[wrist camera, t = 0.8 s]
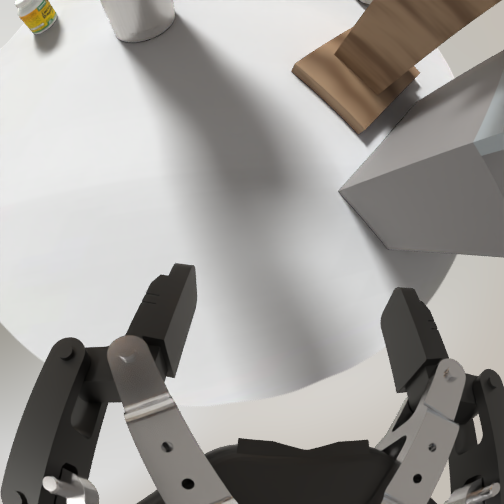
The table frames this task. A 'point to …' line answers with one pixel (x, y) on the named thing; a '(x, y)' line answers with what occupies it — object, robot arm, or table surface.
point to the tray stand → (441, 171)
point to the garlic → (366, 1)
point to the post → (382, 54)
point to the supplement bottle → (36, 14)
